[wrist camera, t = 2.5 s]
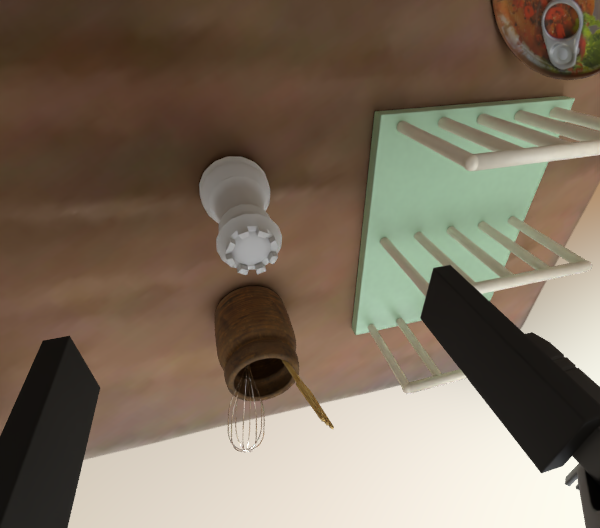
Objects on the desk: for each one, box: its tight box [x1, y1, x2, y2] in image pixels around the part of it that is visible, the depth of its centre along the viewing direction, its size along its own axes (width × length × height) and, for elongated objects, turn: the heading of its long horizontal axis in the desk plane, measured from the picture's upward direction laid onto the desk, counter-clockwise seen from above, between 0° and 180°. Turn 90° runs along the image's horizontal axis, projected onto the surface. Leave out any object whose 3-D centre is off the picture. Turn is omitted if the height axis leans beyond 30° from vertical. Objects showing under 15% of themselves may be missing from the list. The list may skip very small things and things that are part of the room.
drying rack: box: [352, 96, 600, 394], centre depth 26 cm, size 20×15×8 cm
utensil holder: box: [215, 286, 334, 452], centre depth 24 cm, size 6×6×12 cm
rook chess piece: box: [199, 156, 282, 275], centre depth 19 cm, size 4×4×8 cm
